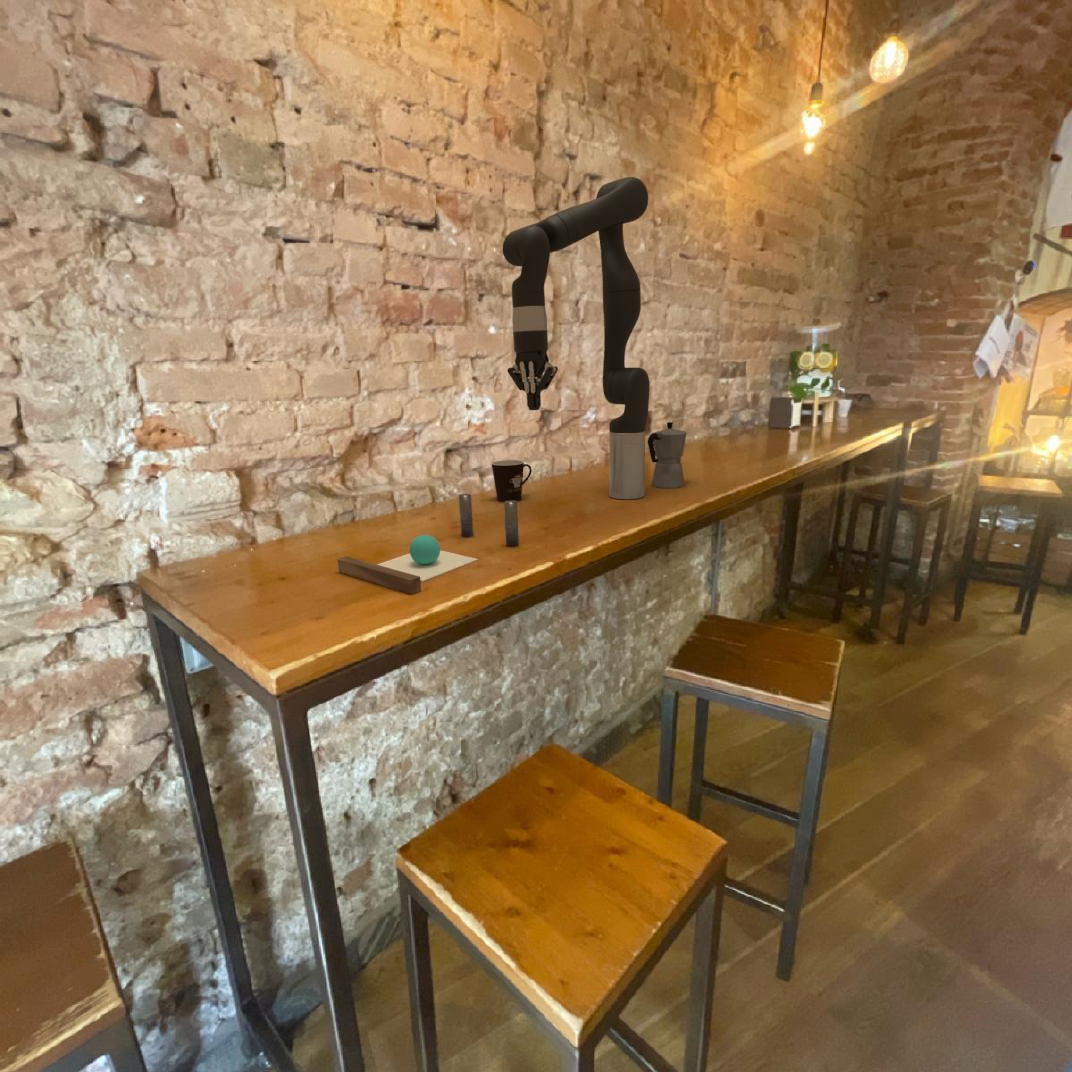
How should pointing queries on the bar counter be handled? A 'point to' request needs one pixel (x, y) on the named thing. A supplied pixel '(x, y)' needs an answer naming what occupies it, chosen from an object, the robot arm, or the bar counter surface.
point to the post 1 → (466, 515)
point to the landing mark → (432, 570)
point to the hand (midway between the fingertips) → (534, 409)
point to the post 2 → (511, 523)
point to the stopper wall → (380, 575)
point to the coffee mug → (509, 479)
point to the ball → (424, 549)
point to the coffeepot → (667, 457)
